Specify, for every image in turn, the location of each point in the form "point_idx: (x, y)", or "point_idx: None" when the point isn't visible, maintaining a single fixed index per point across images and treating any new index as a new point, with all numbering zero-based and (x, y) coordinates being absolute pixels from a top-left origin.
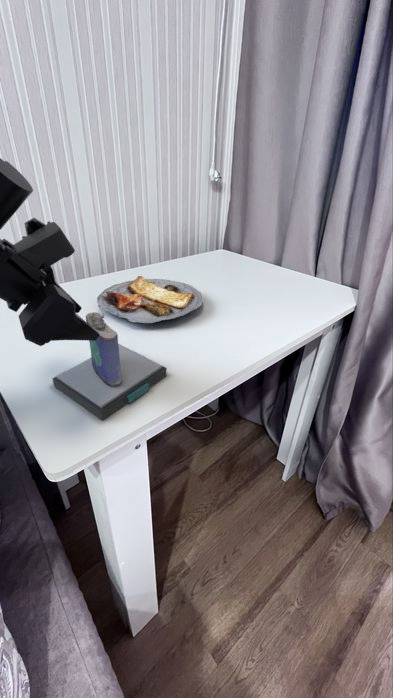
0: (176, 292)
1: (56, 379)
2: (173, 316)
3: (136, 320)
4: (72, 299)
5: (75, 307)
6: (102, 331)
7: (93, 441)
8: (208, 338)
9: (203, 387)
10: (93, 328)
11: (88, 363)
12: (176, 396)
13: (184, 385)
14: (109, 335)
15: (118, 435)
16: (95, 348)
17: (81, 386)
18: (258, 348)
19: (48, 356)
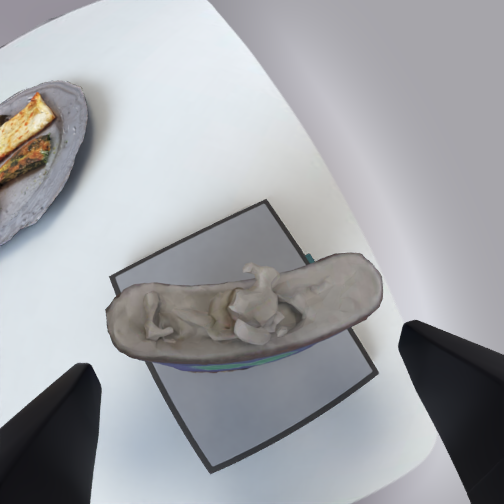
0: (6, 121)
1: (218, 465)
2: (73, 134)
3: (41, 207)
4: (61, 406)
5: (88, 395)
6: (316, 308)
7: (409, 391)
8: (168, 106)
9: (321, 165)
10: (431, 336)
11: (182, 380)
12: (335, 216)
13: (306, 191)
14: (369, 284)
15: None
16: (275, 357)
17: (286, 412)
18: (239, 65)
19: None
